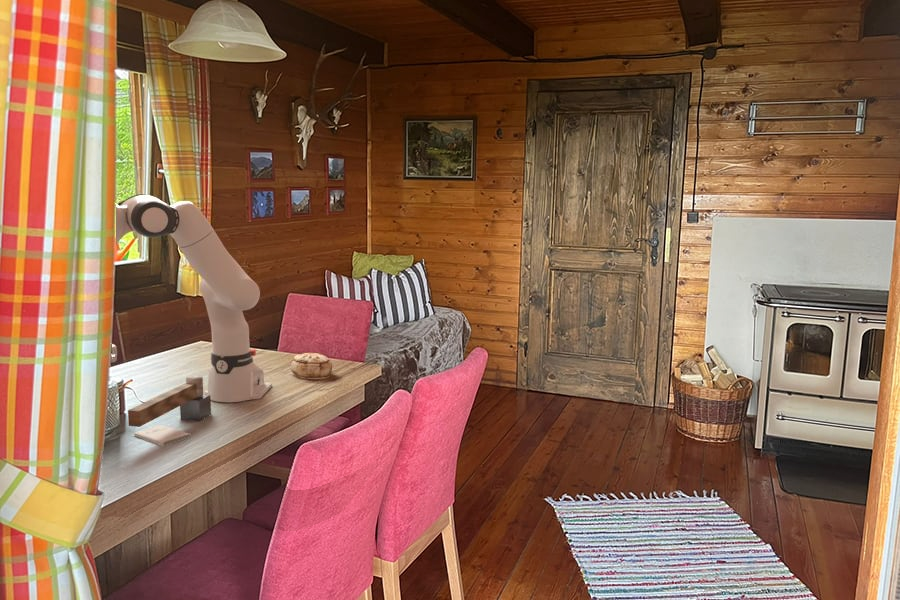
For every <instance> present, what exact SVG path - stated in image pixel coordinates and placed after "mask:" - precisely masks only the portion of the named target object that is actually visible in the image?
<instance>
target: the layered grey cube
mask: <svg viewBox="0 0 900 600" xmlns="http://www.w3.org/2000/svg"><path fill="white" fill-rule="evenodd" d="M179 411H180V415H179V416H180V421H190V420H193V421H194V422H201V421H203V420H205V419H206V417H207V418H209V417H210V416H211V415H212V400H211V395H208V394H205V393H203V396H200V397H196V398H194V399H192V400H190V401H189V402H187V403H185V404H183V405H181V406H179ZM209 415H210V416H209ZM204 418H205V419H204Z"/></svg>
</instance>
